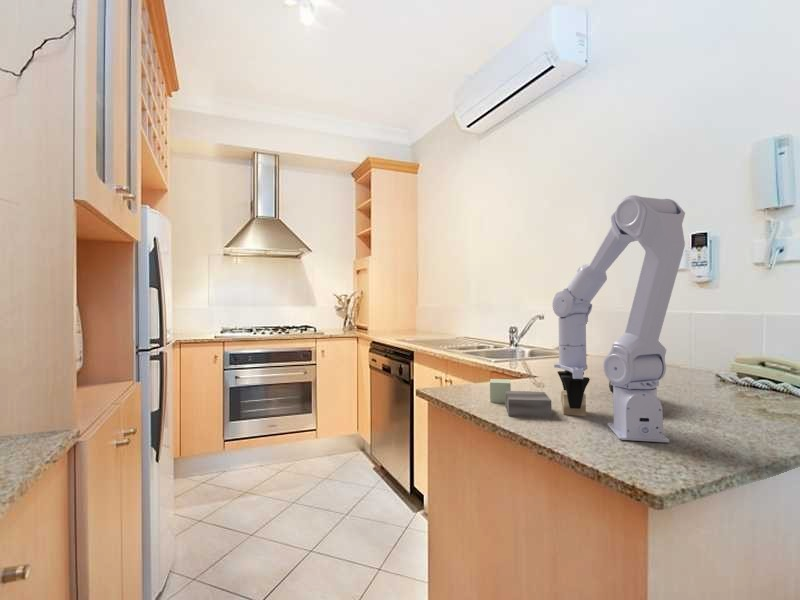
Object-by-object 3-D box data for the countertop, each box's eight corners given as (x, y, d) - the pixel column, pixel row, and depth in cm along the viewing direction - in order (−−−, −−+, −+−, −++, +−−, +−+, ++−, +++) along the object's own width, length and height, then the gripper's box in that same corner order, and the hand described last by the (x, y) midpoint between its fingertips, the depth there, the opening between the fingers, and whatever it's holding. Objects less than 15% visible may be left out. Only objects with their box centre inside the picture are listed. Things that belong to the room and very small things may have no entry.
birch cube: (585, 415, 91) (585, 395, 91) (564, 414, 92) (563, 394, 92) (582, 410, 96) (581, 390, 96) (561, 409, 97) (561, 390, 97)
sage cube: (510, 403, 104) (510, 383, 104) (490, 402, 105) (489, 382, 105) (510, 398, 108) (510, 379, 108) (490, 397, 110) (490, 378, 110)
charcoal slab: (551, 419, 90) (551, 400, 90) (508, 417, 92) (508, 399, 92) (544, 408, 99) (544, 391, 99) (505, 407, 101) (505, 390, 101)
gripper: (550, 341, 102) (550, 397, 102) (557, 348, 88) (558, 412, 88) (581, 342, 100) (581, 398, 100) (593, 348, 86) (594, 414, 86)
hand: (573, 405), depth 94 cm, fingers closed on birch cube, 4 cm apart
